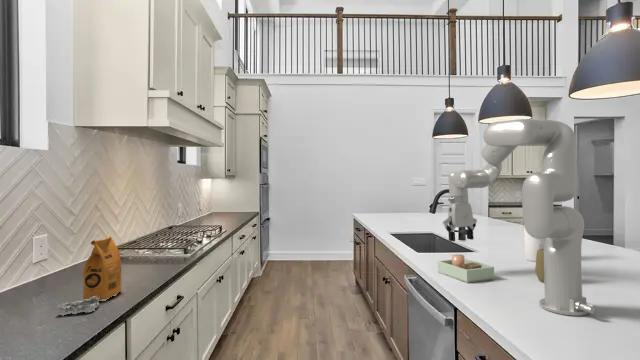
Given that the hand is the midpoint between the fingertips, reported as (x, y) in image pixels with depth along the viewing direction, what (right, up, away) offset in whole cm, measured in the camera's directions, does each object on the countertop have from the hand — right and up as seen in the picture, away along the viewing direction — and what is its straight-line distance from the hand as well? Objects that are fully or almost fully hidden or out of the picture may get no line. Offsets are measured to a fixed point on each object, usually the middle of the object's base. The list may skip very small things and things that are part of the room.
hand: (461, 240), depth 148 cm
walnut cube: (+2, -14, -7) cm, 16 cm away
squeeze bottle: (+28, -14, -14) cm, 34 cm away
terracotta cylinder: (-1, -14, 0) cm, 14 cm away
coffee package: (-142, -18, -20) cm, 145 cm away
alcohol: (+45, -14, +20) cm, 51 cm away
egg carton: (-141, -18, -34) cm, 146 cm away
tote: (0, -14, -3) cm, 15 cm away
